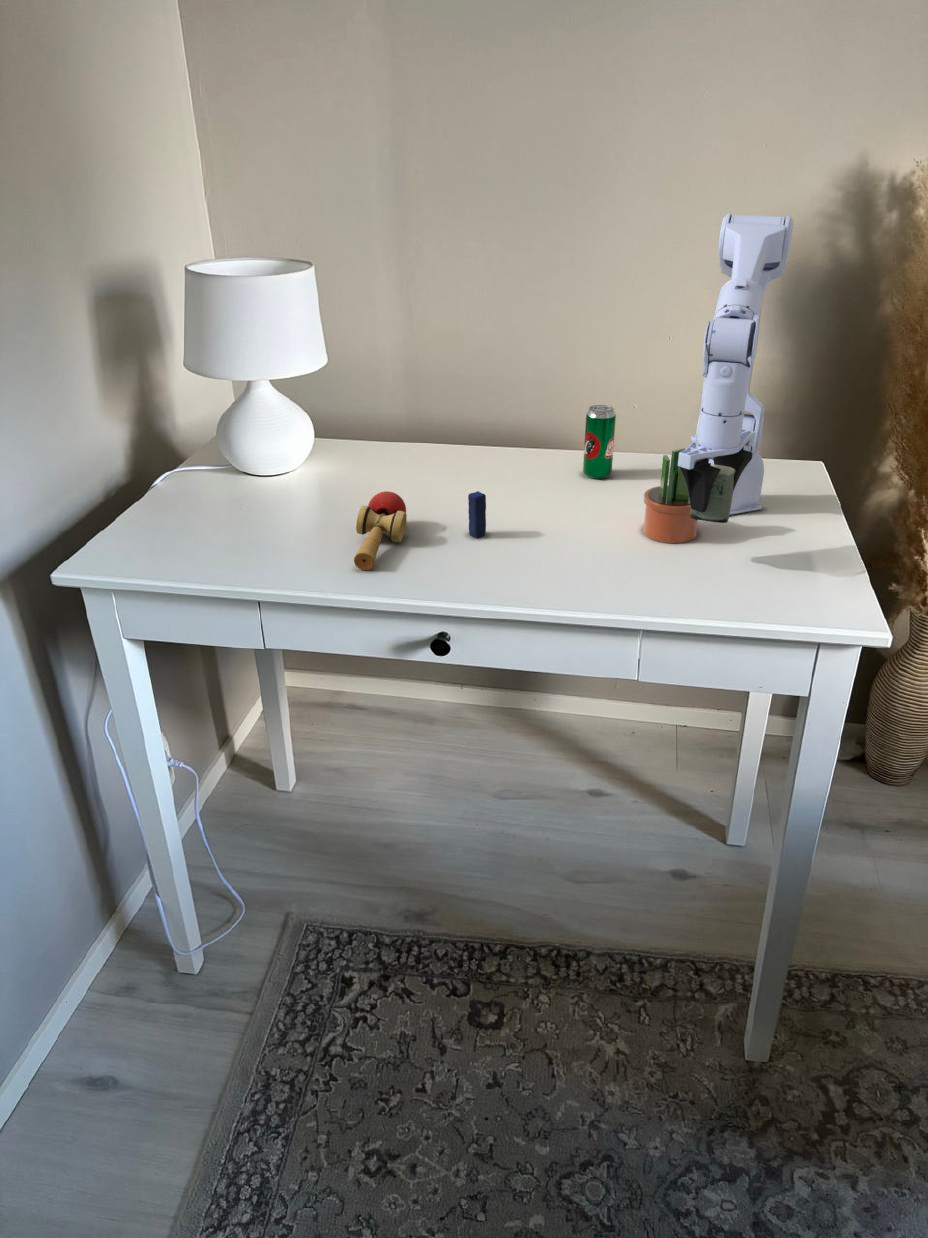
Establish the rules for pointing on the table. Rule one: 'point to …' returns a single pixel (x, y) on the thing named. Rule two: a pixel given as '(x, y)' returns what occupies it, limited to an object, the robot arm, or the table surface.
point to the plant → (669, 506)
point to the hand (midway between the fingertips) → (710, 504)
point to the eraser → (477, 514)
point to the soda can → (599, 441)
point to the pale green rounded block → (718, 497)
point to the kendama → (379, 525)
